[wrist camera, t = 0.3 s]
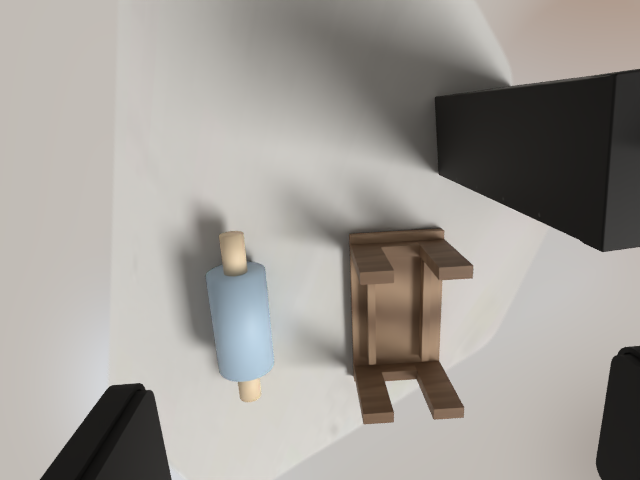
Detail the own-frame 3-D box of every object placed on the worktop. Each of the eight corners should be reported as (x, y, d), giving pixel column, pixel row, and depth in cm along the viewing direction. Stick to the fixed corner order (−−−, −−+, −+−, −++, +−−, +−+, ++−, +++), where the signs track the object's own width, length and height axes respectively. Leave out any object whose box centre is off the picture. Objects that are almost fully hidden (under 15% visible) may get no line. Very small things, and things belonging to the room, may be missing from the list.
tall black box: (433, 95, 40) (686, 63, 14) (513, 84, 40) (923, 29, 14) (437, 175, 43) (659, 280, 16) (512, 164, 43) (861, 252, 16)
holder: (349, 233, 44) (359, 262, 36) (441, 228, 44) (474, 256, 36) (353, 376, 50) (363, 431, 41) (435, 371, 50) (463, 424, 41)
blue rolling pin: (207, 228, 44) (193, 245, 38) (264, 224, 44) (257, 241, 38) (228, 380, 49) (218, 415, 44) (278, 377, 49) (275, 411, 44)
